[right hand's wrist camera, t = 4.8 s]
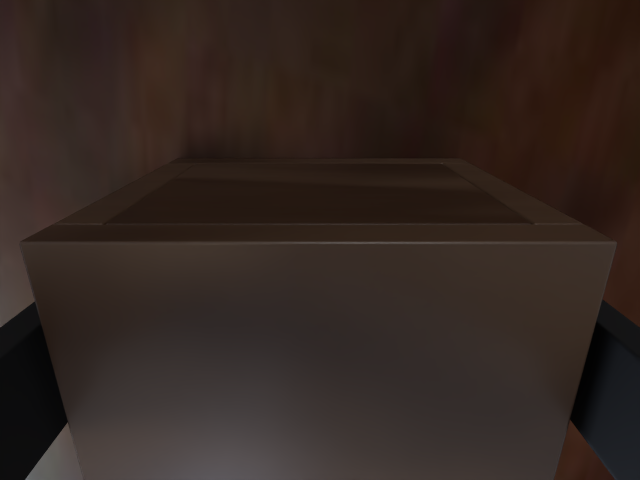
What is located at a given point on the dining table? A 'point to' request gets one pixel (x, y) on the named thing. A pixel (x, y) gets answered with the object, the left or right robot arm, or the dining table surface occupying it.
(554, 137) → the dining table surface
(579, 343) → the cabinet
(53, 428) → the right robot arm
